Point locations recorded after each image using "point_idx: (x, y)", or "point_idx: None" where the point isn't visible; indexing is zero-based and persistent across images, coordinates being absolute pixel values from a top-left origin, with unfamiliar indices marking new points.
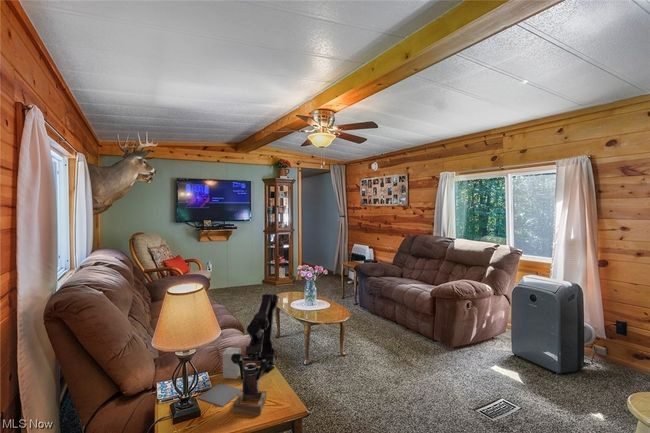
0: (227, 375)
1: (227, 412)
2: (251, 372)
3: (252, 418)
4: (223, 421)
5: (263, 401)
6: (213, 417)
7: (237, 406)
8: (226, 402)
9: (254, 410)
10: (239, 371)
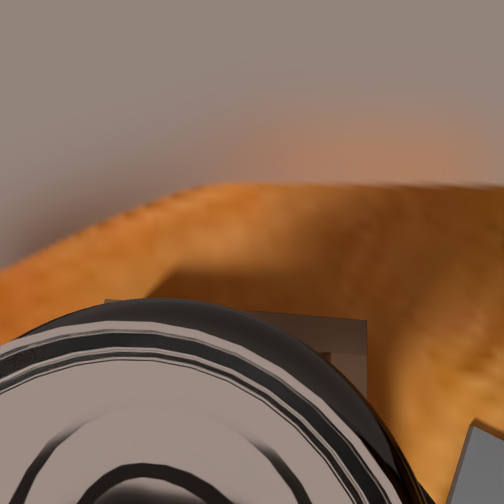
0: None
1: (398, 348)
2: (80, 313)
3: (184, 272)
4: (389, 241)
5: None
6: (483, 286)
7: (322, 319)
8: (463, 491)
9: None
10: None
